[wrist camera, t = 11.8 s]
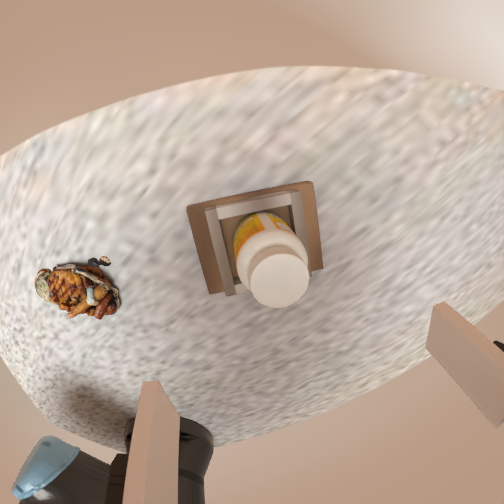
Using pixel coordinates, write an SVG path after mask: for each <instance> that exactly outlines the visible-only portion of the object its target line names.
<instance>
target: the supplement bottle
mask: <svg viewBox="0 0 504 504" xmlns="http://www.w3.org/2000/svg"><path fill="white" fill-rule="evenodd" d="M233 247H234V254H235V260H236V267H237V272H238V276H239V278H240V280H241V282H242V283H243V285H244V286H245V287H246V288H247V289H248V290H249V291H251V292H252V294H253V296H254V297H255V299H256V300H257V301H258V302H260V303H261V304H263V305H265V306H267V307H271V308H283V307H287V306H290V305H292V304H293V303H295V302H296V301H298V300H299V299H300V298H301V297H302V296H303V295H304V293H305V292H306V290H307V288H308V285H309V271H308V268H307V267H308V257H307V252H306V250H305V247H304V245H303V244H302V242H301V241H300V240H299V238H298V237H297V236H296V235H295V233H294V232H293V231H292V230H291V229H290V227H289V226H288V225H287V224H286V223H285V221H284V220H283V219H282V218H281V217H279V216H278V215H277V214H275V213H272V212H269V211H257V212H252V213H249V214H248V215H246V216H245V217H243V218H242V219H241V220H240V221H239V223H238V224H237V226H236V227H235V230H234V233H233Z"/></svg>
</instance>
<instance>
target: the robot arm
mask: <svg viewBox="0 0 504 504" xmlns="http://www.w3.org/2000/svg"><path fill="white" fill-rule="evenodd" d="M425 348H426V349H427V350H428V351H429V352H430V353H431V355H432V356H433V357H434V358H435V359H436V360H437V361H438V362H439V363H440V364H441V365H442V367H443V368H444V369H445V370H446V371H447V372H448V373H449V375H450V376H451V377H452V378H453V379H454V380H455V381H456V383H457V384H458V385H459V386H460V387H461V388H462V390H463V391H464V392H465V393H466V394H467V396H468V397H469V398H470V399H471V400H472V401H473V403H474V404H475V405H476V406H477V407H478V409H479V410H480V411H481V412H482V413H483V415H484V416H485V417H486V419H487V420H488V421H489V422H490V424H491V425H492V426H493V427H494V429H497V428H498V427H499V426H500V425H502V424H503V423H504V344H503V343H500V342H498V341H494V342H492V341H491V340H489V339H488V338H487V337H486V336H485V335H484V334H482V333H481V332H480V331H479V330H478V329H477V328H476V327H474V326H473V325H472V324H471V323H470V322H469V321H467V320H466V319H465V318H464V317H463V316H461V315H460V314H459V313H458V312H457V311H455V310H454V309H453V308H452V307H450V306H449V305H448V304H447V303H445V302H441V303H439V304H437V305H435V306H433V311H432V317H431V322H430V328H429V333H428V338H427V342H426V347H425ZM124 440H125V446H126V451H127V454H117V455H116V457H115V458H114V460H113V461H112V463H111V465H109V464H107V463H105V462H103V461H101V460H99V459H97V458H95V457H92V456H91V455H89V454H87V453H85V452H83V451H81V450H80V448H78V447H74V446H72V445H70V444H68V443H66V442H64V441H62V440H60V439H58V438H56V437H54V436H44V437H43V438H41V439H40V440H39V442H38V443H37V444H36V446H35V447H34V449H33V450H32V452H31V453H30V455H29V456H28V458H27V459H26V461H25V463H24V465H23V466H22V468H21V470H20V472H19V474H18V476H17V478H16V481H15V482H14V484H13V487H12V493H13V494H14V495H15V497H16V498H17V499H20V503H19V504H205V497H204V475H205V473H206V470H207V468H208V465H209V462H210V460H211V457H212V454H213V438H212V436H211V434H210V433H209V432H208V431H207V430H206V429H205V428H204V427H202V426H201V425H199V424H197V423H195V422H193V421H190V420H187V419H184V418H180V416H179V414H178V413H177V411H176V410H175V408H174V406H173V405H172V403H171V401H170V400H169V398H168V396H167V395H166V393H165V391H164V389H163V388H162V386H161V384H160V382H159V381H150V382H143V384H142V388H141V393H140V398H139V403H138V408H137V413H136V418H134V419H132V420H131V421H129V423H128V424H127V426H126V430H125V435H124Z"/></svg>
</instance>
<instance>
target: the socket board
mask: <svg viewBox="0 0 504 504" xmlns="http://www.w3.org/2000/svg"><path fill="white" fill-rule="evenodd" d="M186 210H187V214H188V218H189V222H190V225H191V229H192V233H193V237H194V241H195V244H196V248H197V252H198V255H199V259H200V262H201V266H202V270H203V273H204V277H205V280H206V284H207V287H208V290H209V294H214V293H219V292H223V291H225V293H226V296H231V295H235V294H240V293H245V292H249V290H248V289H247V288H246V287H245V286H244V285H243V283H242V282H241V280H240V278H239V276H238V272H237V267H236V260H235V254H234V247H233V233H234V230H235V227H236V226H237V224H238V223H239V221H240V220H241V219H242V218H243V217H245V216H246V215H248V214H249V213H252V212H257V211H269V212H272V213H275V214H277V215H278V216H279V217H281V218H282V219H283V220H284V221H285V223H286V224H287V225H288V226H289V227H290V229H291V230H292V231H293V232H294V233H295V235H296V236H297V237H298V238H299V240H300V241H301V242H302V244H303V245H304V247H305V250H306V252H307V257H308V267H307V268H308V271H309V277H312V275H311V271H315V270H319V269H323V262H322V252H321V242H320V233H319V225H318V216H317V208H316V200H315V193H314V186H313V183H312V182H310V181H305V182H300V183H294V184H289V185H283V186H278V187H273V188H268V189H263V190H258V191H253V192H248V193H243V194H238V195H234V196H229V197H225V198H220V199H216V200H211V201H207V202H203V203H198V204H194V205H190V206H188V207H187V209H186Z"/></svg>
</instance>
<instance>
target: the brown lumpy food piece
mask: <svg viewBox="0 0 504 504" xmlns="http://www.w3.org/2000/svg"><path fill="white" fill-rule="evenodd" d="M110 264H111V262H110V260H109V259H108V258H107V257H105V256H102V257H100V261H98V260H97V259H96V258H91V259H89V260H88V267H78V266H77V265H72V264H66V265H65V266H59V267H58V265H56V266H55V267H54V268H53V272H51V270H50V269H41V270H40V271H39V272H38V274H37V277H36V278H35V281H34V283H35V287H36V291H37V293H38V295H39V296H40V297H43V298H44V299H45V301H47V302H50V303H53V304H57V305H59V308H60V310H66V311H68V312H69V313H68V314H67V317H68V318H67V319H69V318H72V317H75V316H76V315H78V314H80V313H82V314H84V313H87V314H88V316H94V315H95V317H96V318H97V319H102V317H103V316H104V315H111V314H114V313H116V312H117V311H118V309H119V307H120V301H119V299H118V290H117V289H116V288H114V287H112V286H111V284H110V282H109V281H108V280H107V279H105V278H104V277H105V276H103V274H101V271H100V270H98V269H97V268H98V266H99V265H104V266H109V265H110Z"/></svg>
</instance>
